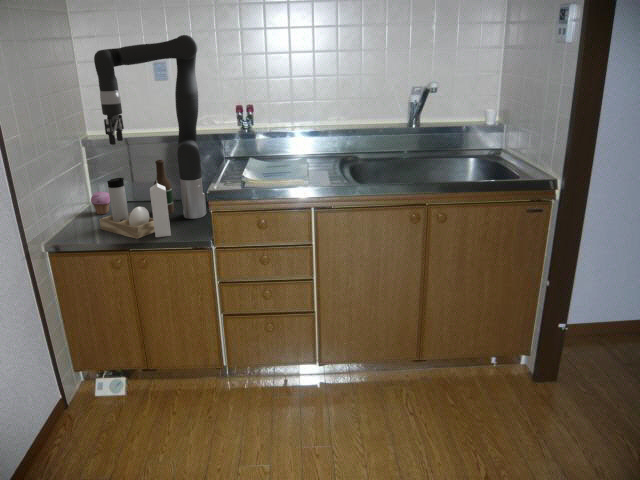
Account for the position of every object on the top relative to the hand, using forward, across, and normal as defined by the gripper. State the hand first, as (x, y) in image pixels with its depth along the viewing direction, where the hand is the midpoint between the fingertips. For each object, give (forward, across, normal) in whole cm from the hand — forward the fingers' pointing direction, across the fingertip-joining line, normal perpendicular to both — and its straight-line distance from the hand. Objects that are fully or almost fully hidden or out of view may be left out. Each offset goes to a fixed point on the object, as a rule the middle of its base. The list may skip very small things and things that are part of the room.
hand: (116, 142), depth 224 cm
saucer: (+33, -15, -10) cm, 37 cm away
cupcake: (+34, +12, +15) cm, 39 cm away
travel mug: (+33, -8, 0) cm, 34 cm away
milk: (+34, -17, -20) cm, 43 cm away
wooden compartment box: (+34, -11, -5) cm, 36 cm away
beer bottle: (+34, +12, -13) cm, 39 cm away
